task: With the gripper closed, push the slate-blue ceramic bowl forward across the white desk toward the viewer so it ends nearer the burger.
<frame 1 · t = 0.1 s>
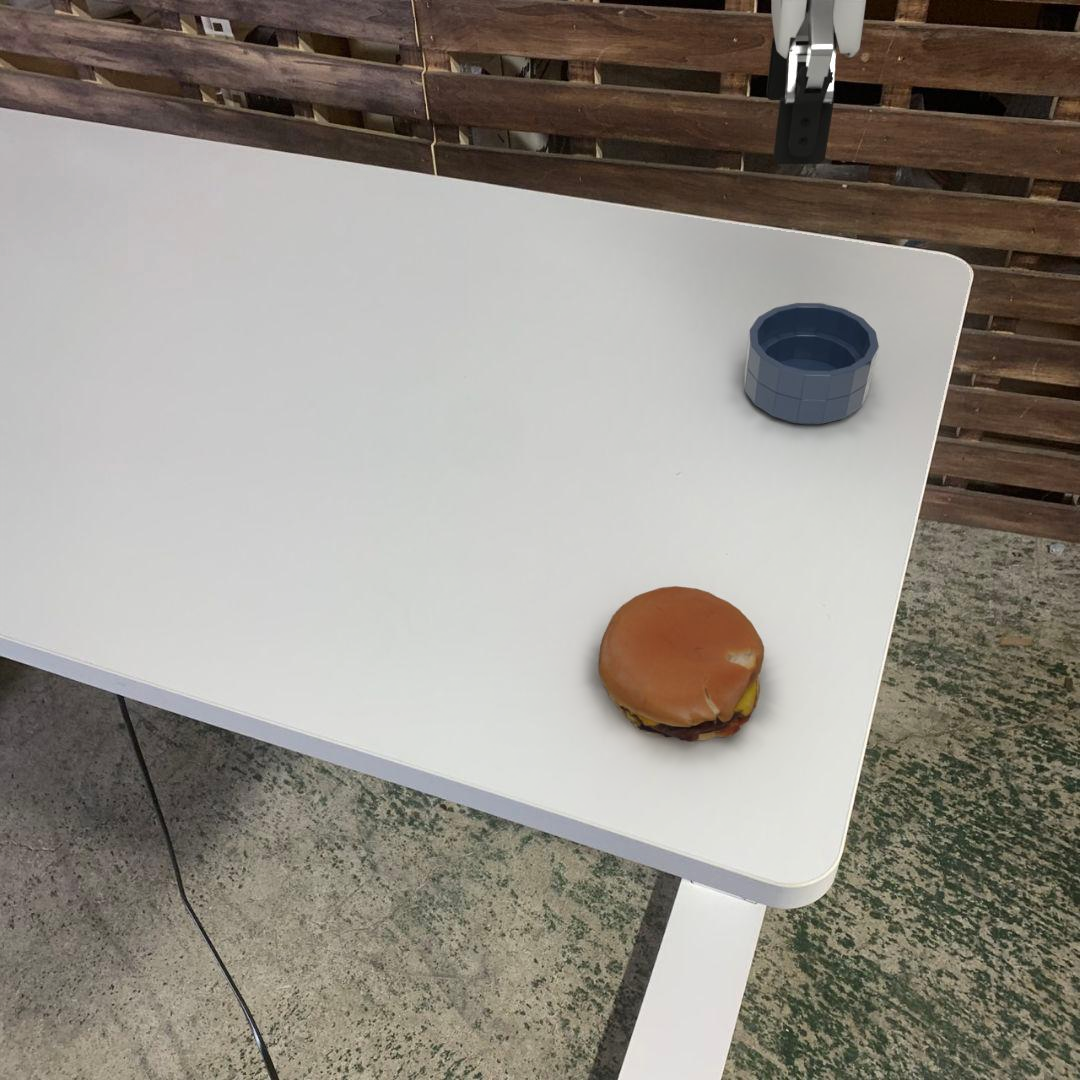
hand: (793, 128, 66), 18 cm above the table, tool pointing down, fingers open, 9 cm apart
burger: (680, 683, 58), on the table
bowl: (803, 391, 75), on the table
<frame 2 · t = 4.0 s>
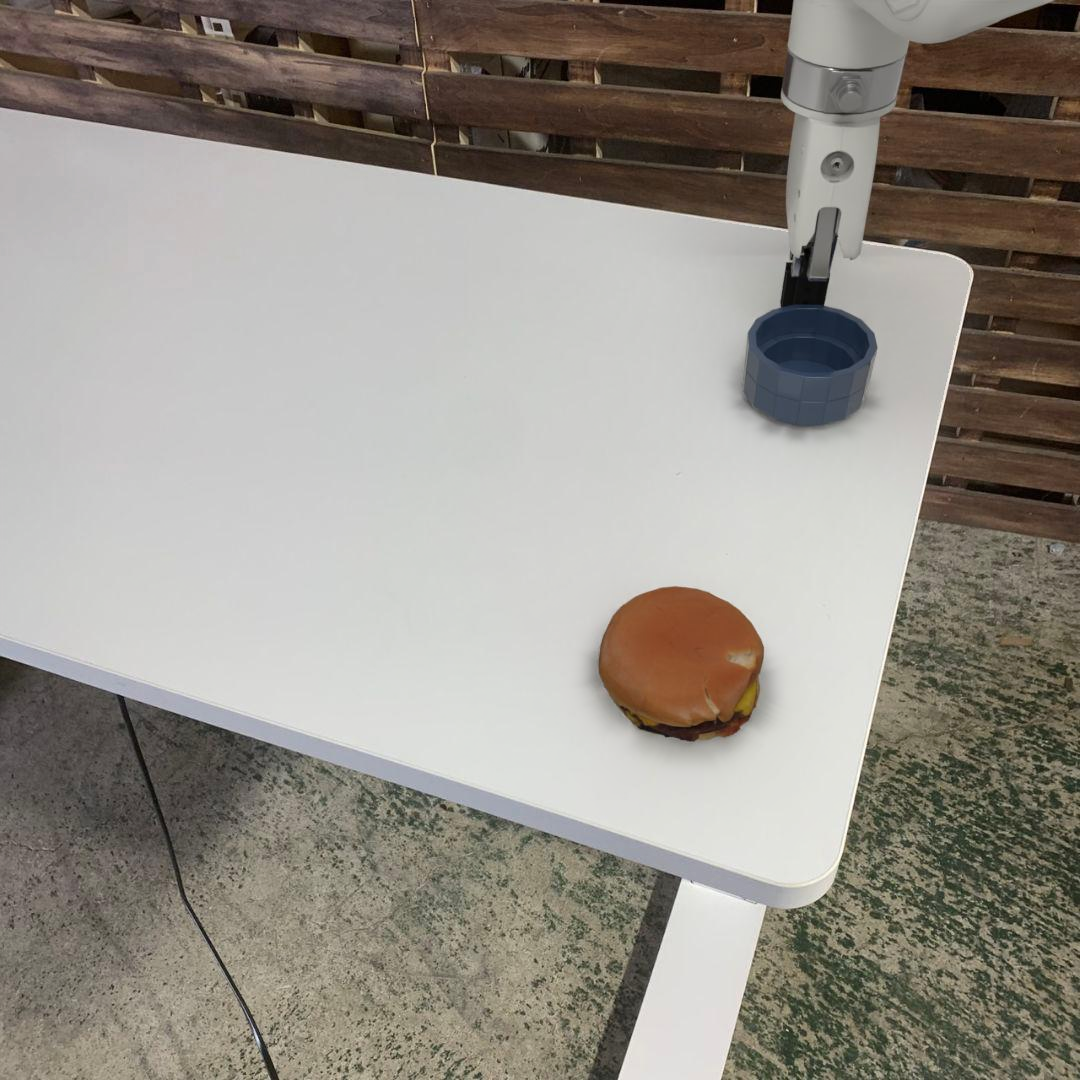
hand: (800, 311, 77), 3 cm above the table, tool pointing down, fingers closed
bowl: (802, 393, 75), on the table, touching gripper
everything else where it was.
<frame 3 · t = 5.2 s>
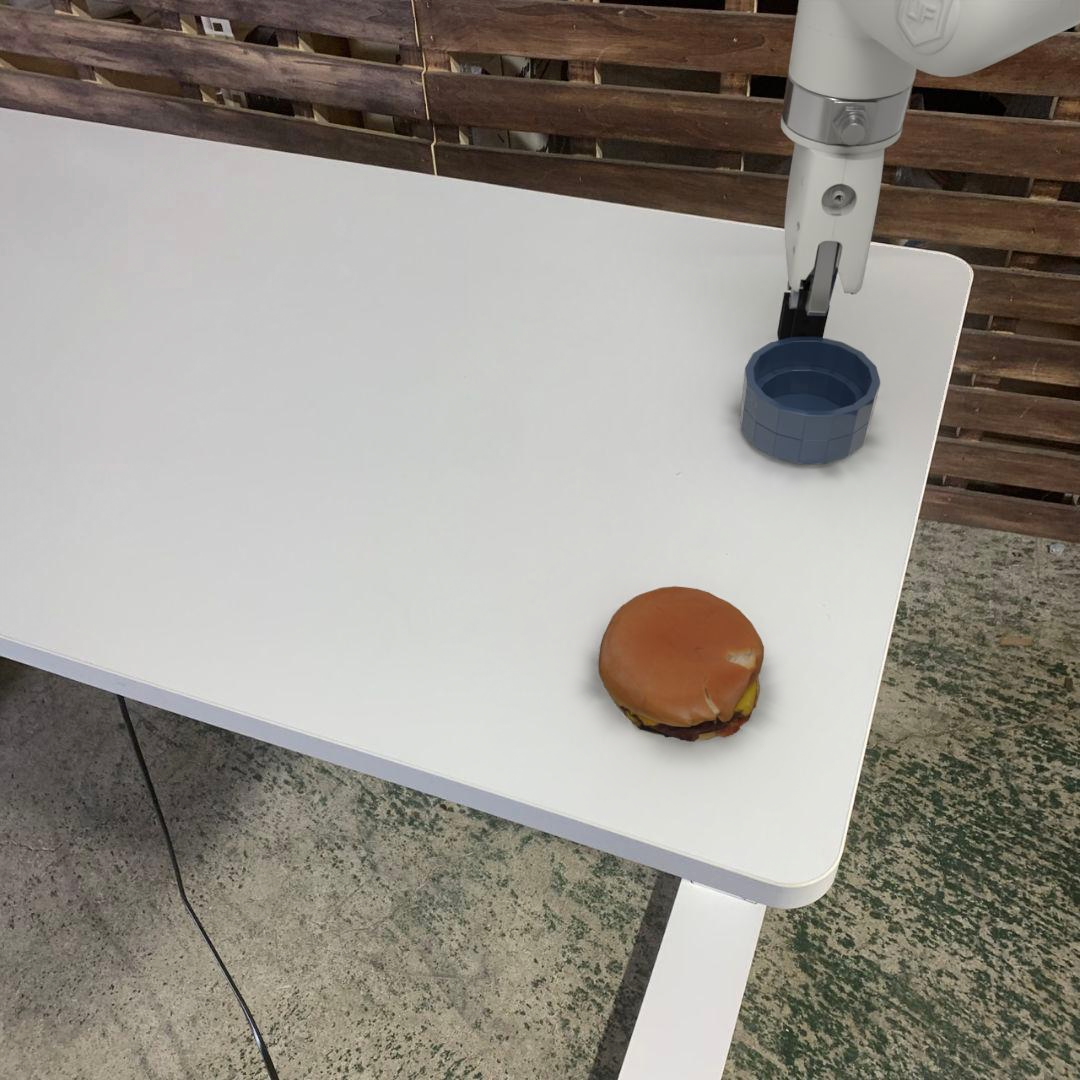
hand: (798, 342, 75), 3 cm above the table, tool pointing down, fingers closed
bowl: (802, 428, 72), on the table, touching gripper
everything else where it was.
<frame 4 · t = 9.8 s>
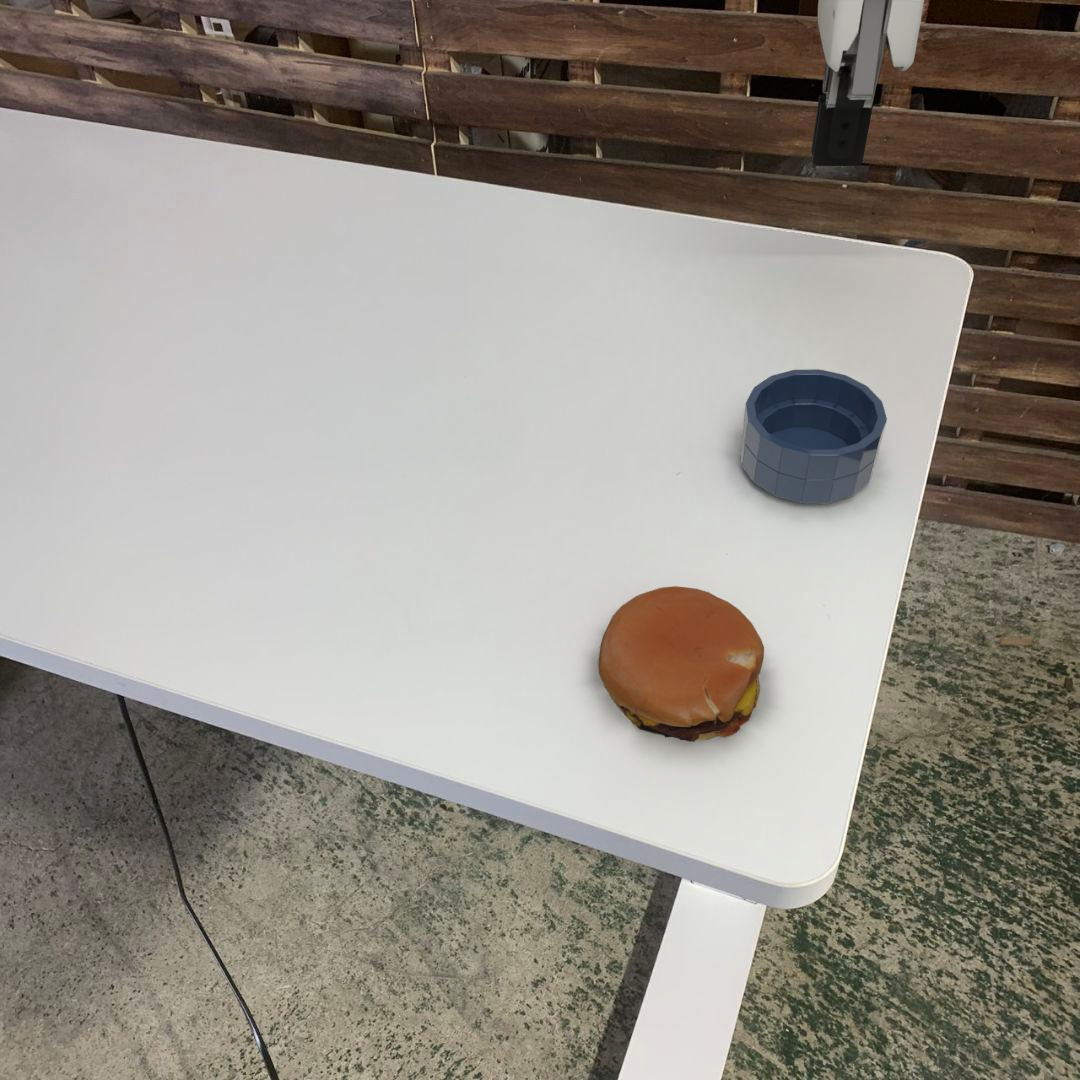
hand: (835, 159, 65), 17 cm above the table, tool pointing down, fingers closed
bowl: (805, 464, 70), on the table
everything else where it was.
at the end: bowl inside the target area (2.5 cm from its centre), on the table; bowl moved 8.5 cm from its start; burger moved 0.2 cm from its start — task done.
